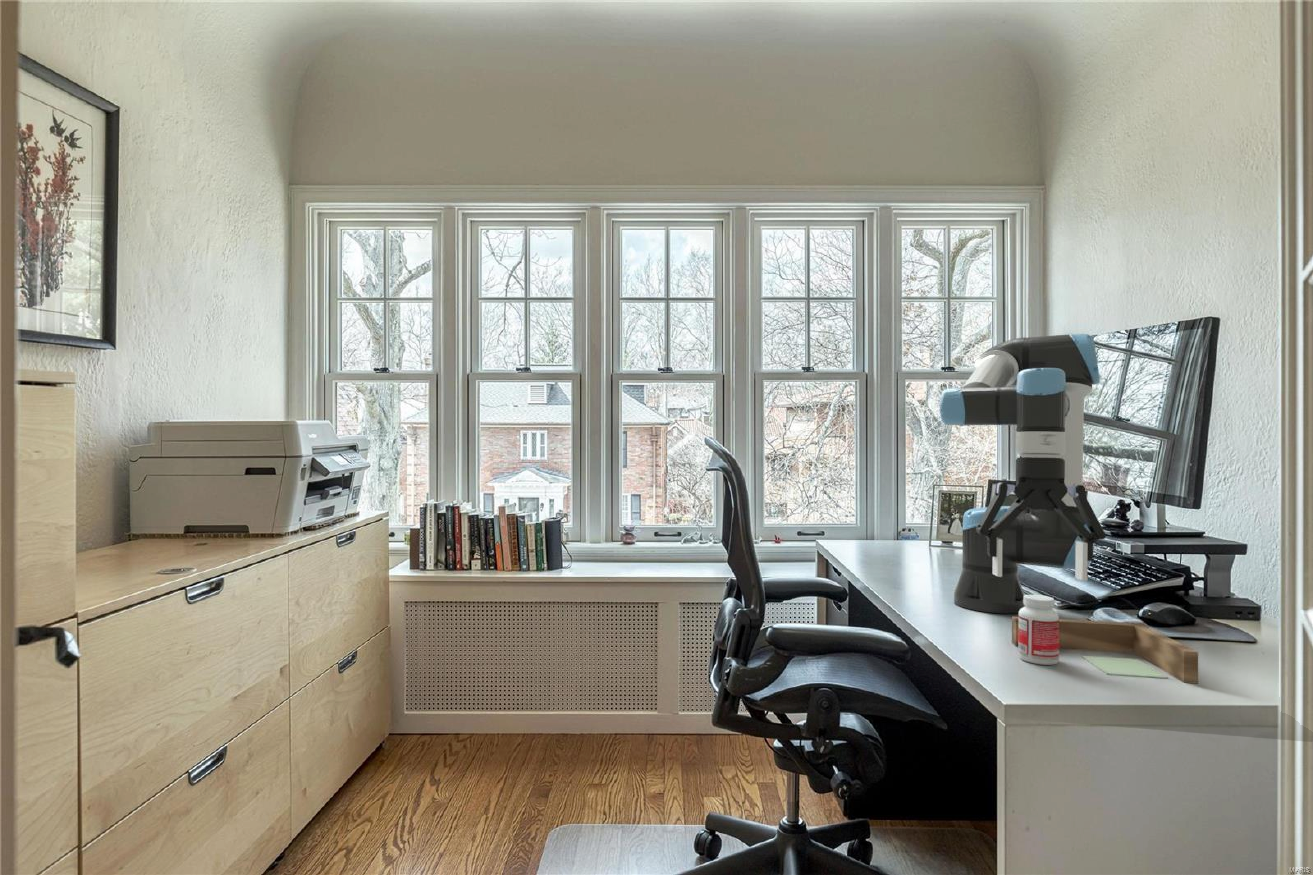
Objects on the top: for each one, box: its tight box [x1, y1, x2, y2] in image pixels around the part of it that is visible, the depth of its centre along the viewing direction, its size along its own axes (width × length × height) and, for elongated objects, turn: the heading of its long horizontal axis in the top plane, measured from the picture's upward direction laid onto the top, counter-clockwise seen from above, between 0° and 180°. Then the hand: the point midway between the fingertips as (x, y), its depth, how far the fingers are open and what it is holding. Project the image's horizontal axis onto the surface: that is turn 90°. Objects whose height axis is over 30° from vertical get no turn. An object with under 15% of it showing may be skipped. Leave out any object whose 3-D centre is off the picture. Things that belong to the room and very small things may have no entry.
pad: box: [1081, 655, 1169, 679], centre depth 113 cm, size 9×9×1 cm
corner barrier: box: [1011, 616, 1199, 684], centre depth 116 cm, size 17×22×5 cm
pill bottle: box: [1017, 594, 1060, 666], centre depth 116 cm, size 6×6×11 cm
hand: (1038, 577), depth 116 cm, fingers open, 13 cm apart
